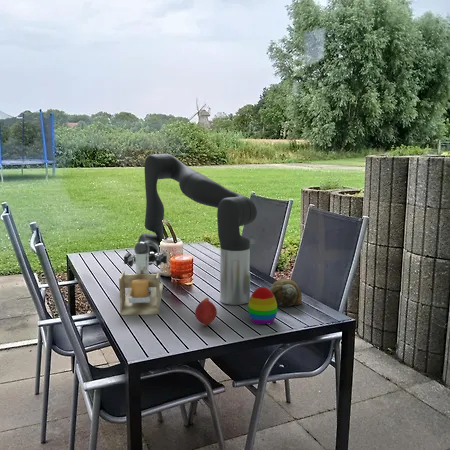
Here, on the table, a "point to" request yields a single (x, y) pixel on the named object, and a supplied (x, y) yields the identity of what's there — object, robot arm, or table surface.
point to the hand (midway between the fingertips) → (144, 263)
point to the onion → (205, 312)
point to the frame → (142, 307)
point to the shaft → (141, 269)
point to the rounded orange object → (140, 287)
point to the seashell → (286, 292)
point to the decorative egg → (262, 306)
